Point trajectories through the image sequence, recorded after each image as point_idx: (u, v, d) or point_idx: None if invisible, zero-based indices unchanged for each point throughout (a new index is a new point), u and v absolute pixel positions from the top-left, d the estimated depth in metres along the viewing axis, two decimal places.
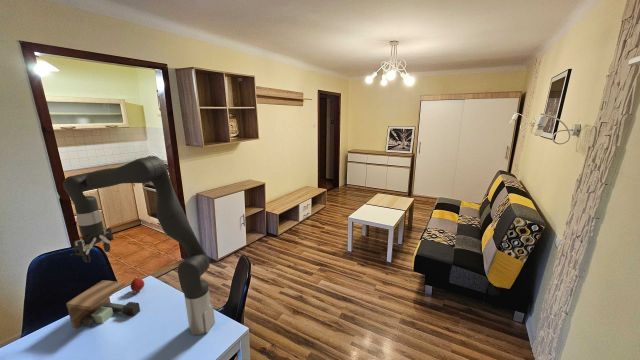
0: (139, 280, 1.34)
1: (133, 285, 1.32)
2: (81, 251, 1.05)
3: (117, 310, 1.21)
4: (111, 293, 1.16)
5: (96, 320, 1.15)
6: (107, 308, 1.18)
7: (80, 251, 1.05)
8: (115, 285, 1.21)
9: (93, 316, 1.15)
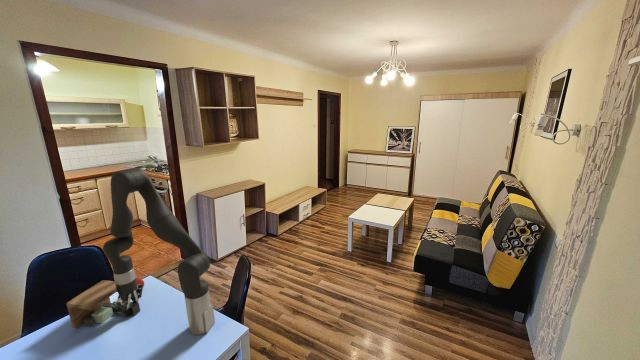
0: (139, 280, 1.34)
1: None
2: (122, 308, 1.15)
3: (117, 310, 1.21)
4: (111, 293, 1.16)
5: (96, 320, 1.15)
6: (107, 308, 1.18)
7: (122, 309, 1.14)
8: (115, 285, 1.21)
9: (93, 316, 1.15)
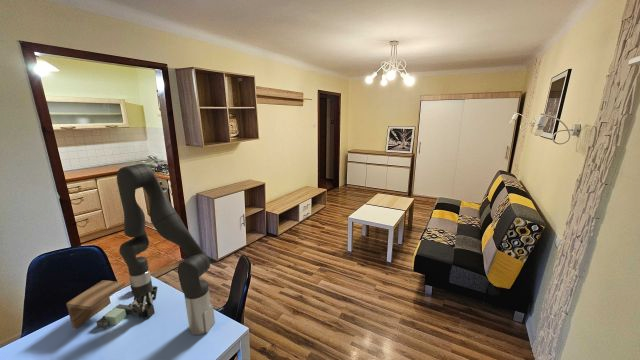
0: None
1: None
2: (138, 310, 1.13)
3: (131, 312, 1.20)
4: (111, 293, 1.16)
5: (109, 322, 1.14)
6: (120, 309, 1.17)
7: (137, 311, 1.13)
8: (115, 285, 1.21)
9: (107, 317, 1.14)
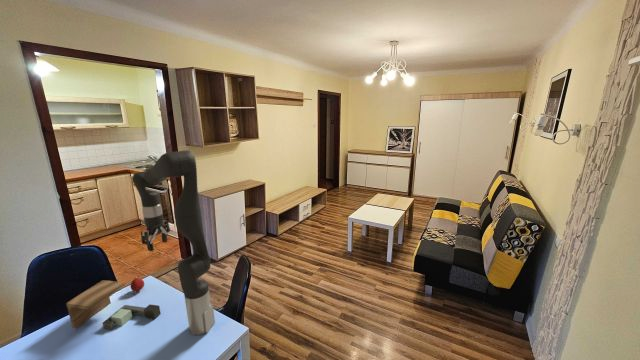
0: (139, 280, 1.34)
1: (133, 285, 1.32)
2: (147, 241, 1.16)
3: (137, 313, 1.19)
4: (111, 293, 1.16)
5: (115, 323, 1.14)
6: (126, 310, 1.17)
7: (146, 241, 1.16)
8: (115, 285, 1.21)
9: (113, 318, 1.14)
